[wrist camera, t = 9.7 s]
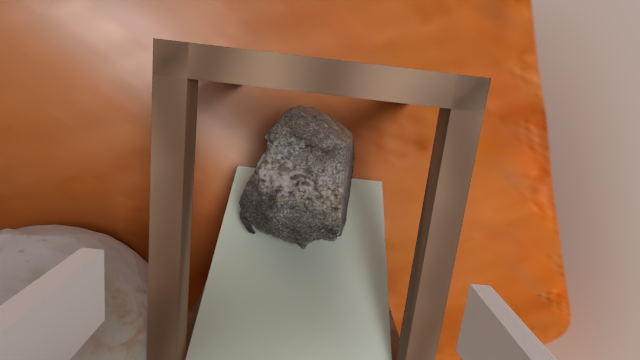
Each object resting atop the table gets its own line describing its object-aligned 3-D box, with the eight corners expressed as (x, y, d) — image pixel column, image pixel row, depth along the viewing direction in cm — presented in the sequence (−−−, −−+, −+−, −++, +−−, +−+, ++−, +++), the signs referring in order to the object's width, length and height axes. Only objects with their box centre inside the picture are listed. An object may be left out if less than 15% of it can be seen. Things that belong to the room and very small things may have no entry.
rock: (337, 270, 30) (342, 220, 25) (226, 251, 31) (211, 199, 26) (358, 147, 39) (365, 92, 34) (271, 135, 40) (265, 80, 35)
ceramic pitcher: (-27, 218, 42) (-525, 413, 18) (127, 142, 39) (-226, 253, 15) (85, 381, 47) (-193, 710, 22) (232, 323, 43) (92, 636, 19)
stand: (214, 282, 43) (145, 412, 26) (227, 61, 38) (153, 38, 21) (379, 299, 43) (419, 436, 26) (413, 83, 38) (491, 78, 21)
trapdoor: (162, 477, 23) (150, 470, 21) (238, 180, 39) (236, 158, 36) (390, 496, 24) (403, 492, 22) (377, 195, 39) (384, 174, 37)
